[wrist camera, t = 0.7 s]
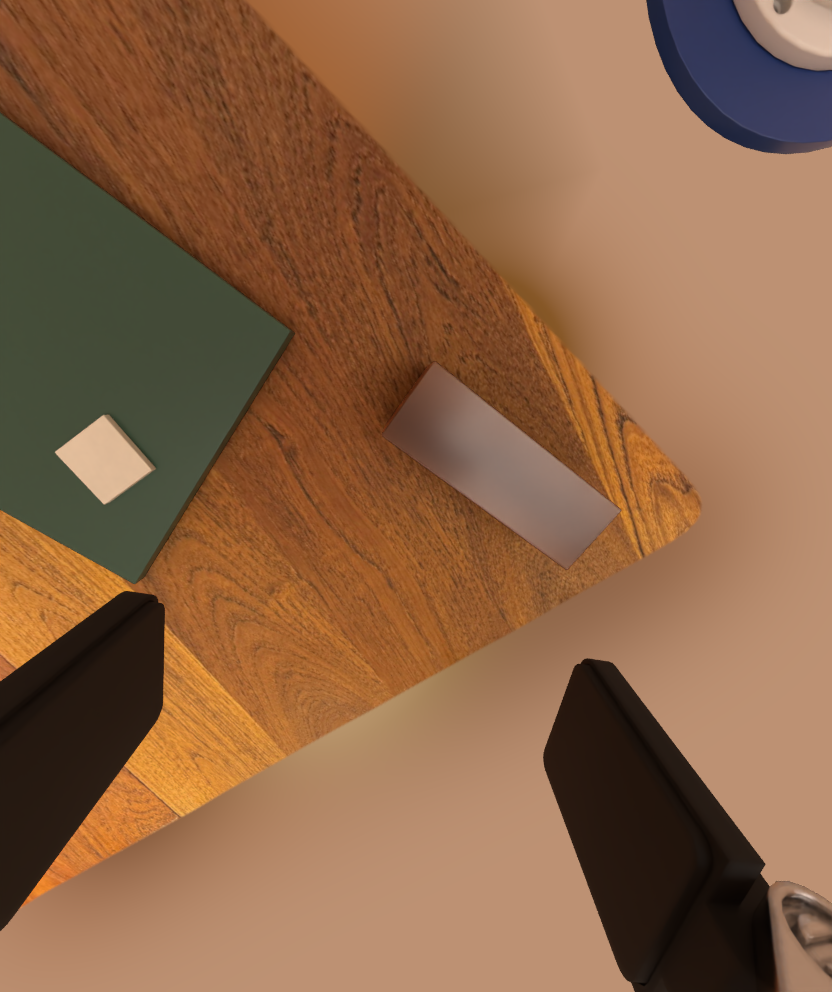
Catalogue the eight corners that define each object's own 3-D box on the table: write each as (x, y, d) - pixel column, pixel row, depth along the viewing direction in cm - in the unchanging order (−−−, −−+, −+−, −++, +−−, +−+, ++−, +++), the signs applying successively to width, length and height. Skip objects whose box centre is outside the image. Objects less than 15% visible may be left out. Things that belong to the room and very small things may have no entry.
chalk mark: (109, 414, 23) (102, 414, 23) (156, 468, 24) (151, 470, 24) (61, 450, 24) (53, 452, 23) (109, 502, 25) (104, 505, 24)
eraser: (427, 365, 24) (434, 360, 19) (578, 485, 26) (622, 510, 21) (385, 424, 25) (380, 435, 20) (535, 535, 27) (567, 570, 22)
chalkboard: (-48, 75, 19) (-72, 59, 18) (295, 332, 23) (290, 330, 22) (-166, 404, 23) (-190, 405, 22) (144, 577, 27) (134, 584, 26)
